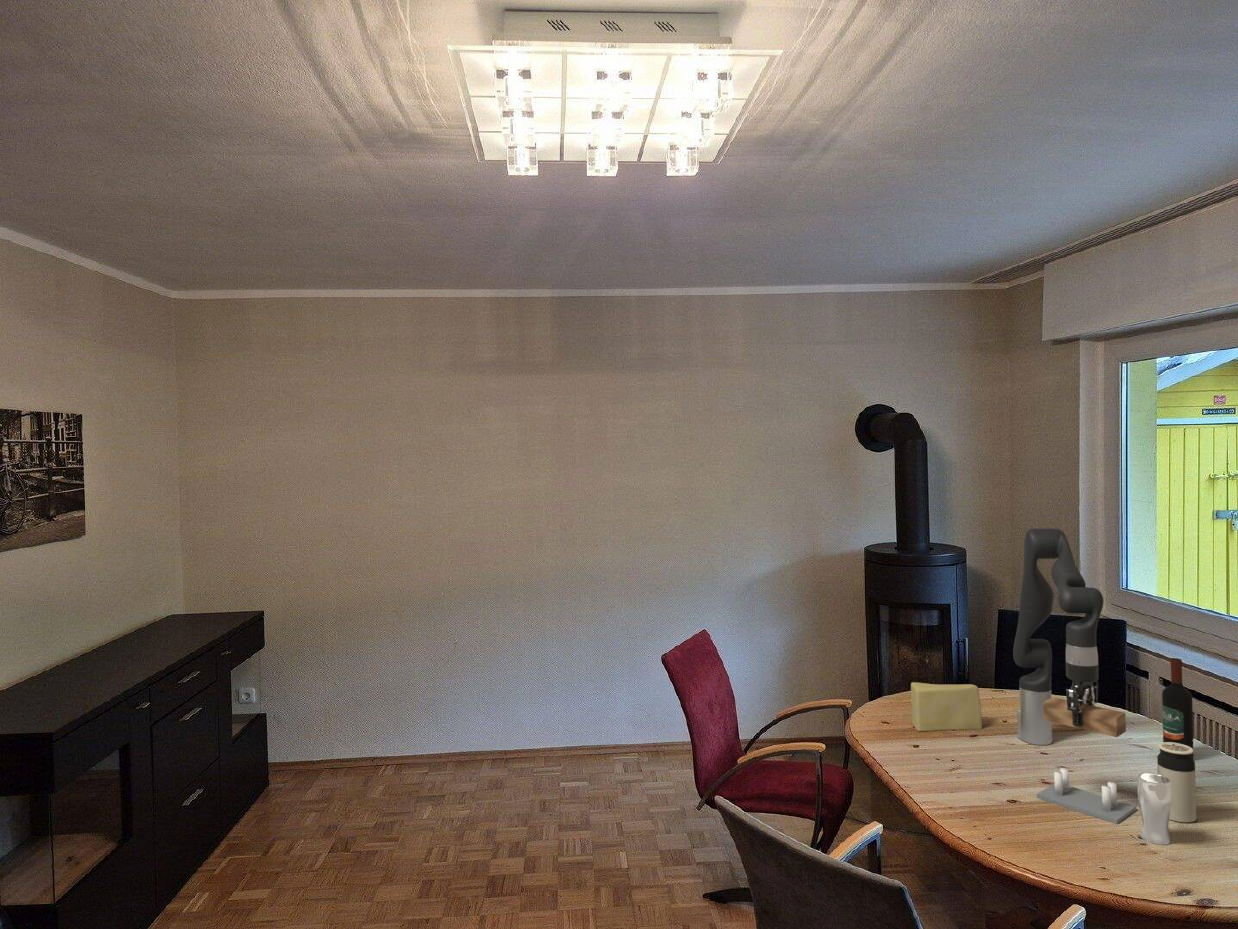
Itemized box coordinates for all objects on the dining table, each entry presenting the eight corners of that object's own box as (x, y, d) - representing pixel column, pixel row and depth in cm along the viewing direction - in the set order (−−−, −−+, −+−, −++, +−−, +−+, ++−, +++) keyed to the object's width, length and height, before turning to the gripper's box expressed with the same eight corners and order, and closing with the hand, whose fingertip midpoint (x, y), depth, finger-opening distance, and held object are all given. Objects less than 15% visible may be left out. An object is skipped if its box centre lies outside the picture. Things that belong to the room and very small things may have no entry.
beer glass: (1131, 833, 194) (1130, 773, 194) (1158, 831, 195) (1156, 771, 195) (1153, 847, 188) (1151, 785, 187) (1180, 844, 188) (1178, 783, 188)
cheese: (977, 724, 273) (976, 681, 273) (985, 734, 264) (984, 689, 263) (911, 722, 277) (909, 680, 276) (917, 732, 267) (916, 688, 267)
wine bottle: (1198, 762, 235) (1196, 663, 235) (1170, 761, 237) (1168, 662, 236) (1186, 752, 242) (1183, 656, 242) (1158, 751, 244) (1156, 655, 244)
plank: (1125, 731, 205) (1125, 712, 205) (1116, 737, 201) (1116, 718, 201) (1053, 714, 219) (1053, 697, 219) (1043, 720, 216) (1043, 702, 216)
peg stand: (1036, 797, 215) (1035, 772, 215) (1057, 785, 222) (1056, 761, 222) (1116, 824, 199) (1116, 797, 199) (1136, 810, 206) (1135, 783, 206)
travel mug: (1197, 826, 197) (1196, 755, 196) (1159, 819, 201) (1157, 749, 201) (1194, 813, 203) (1193, 744, 203) (1157, 807, 208) (1156, 739, 207)
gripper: (1084, 669, 203) (1086, 733, 203) (1108, 659, 211) (1110, 720, 212) (1054, 663, 209) (1056, 725, 209) (1079, 653, 218) (1080, 713, 218)
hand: (1083, 722), depth 210 cm, fingers closed on plank, 6 cm apart
